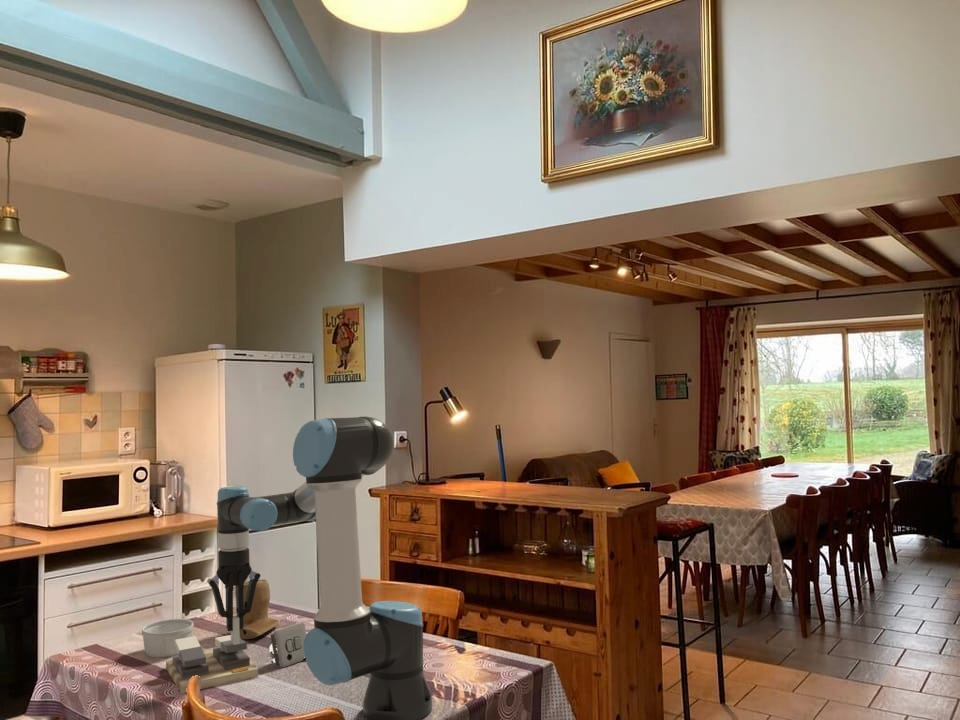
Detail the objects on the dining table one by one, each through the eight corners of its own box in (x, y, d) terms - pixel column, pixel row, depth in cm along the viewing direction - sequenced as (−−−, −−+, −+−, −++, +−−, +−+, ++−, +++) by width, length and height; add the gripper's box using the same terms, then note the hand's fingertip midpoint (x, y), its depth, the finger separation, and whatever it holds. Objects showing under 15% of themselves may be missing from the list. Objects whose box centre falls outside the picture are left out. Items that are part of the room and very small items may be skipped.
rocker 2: (247, 652, 196) (246, 642, 196) (226, 656, 193) (226, 646, 193) (234, 643, 206) (234, 634, 206) (215, 647, 203) (215, 637, 204)
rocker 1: (205, 666, 191) (206, 657, 190) (184, 670, 188) (184, 661, 188) (195, 644, 201) (195, 636, 201) (174, 648, 198) (175, 639, 198)
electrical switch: (282, 669, 198) (279, 631, 199) (269, 666, 201) (267, 630, 202) (311, 658, 205) (308, 622, 206) (299, 656, 209) (296, 621, 210)
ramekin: (202, 643, 220) (201, 618, 220) (179, 660, 207) (179, 633, 207) (157, 643, 221) (157, 618, 221) (132, 659, 208) (132, 633, 208)
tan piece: (249, 623, 237) (248, 574, 238) (284, 625, 234) (284, 575, 235) (221, 639, 222) (220, 587, 223) (258, 642, 220) (257, 588, 220)
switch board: (257, 676, 193) (257, 660, 193) (181, 693, 184) (181, 676, 184) (236, 654, 210) (236, 639, 210) (165, 668, 201) (165, 652, 201)
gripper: (255, 542, 203) (257, 634, 202) (203, 549, 196) (205, 644, 195) (263, 547, 197) (265, 641, 196) (210, 554, 190) (212, 652, 189)
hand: (235, 642), depth 196 cm, fingers closed
